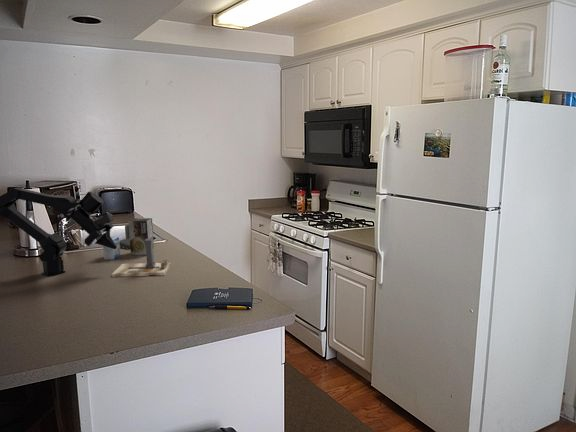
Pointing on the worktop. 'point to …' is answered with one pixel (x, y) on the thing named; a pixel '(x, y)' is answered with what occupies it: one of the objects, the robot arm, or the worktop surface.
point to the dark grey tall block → (149, 253)
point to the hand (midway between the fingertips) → (115, 248)
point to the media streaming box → (125, 243)
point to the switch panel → (141, 269)
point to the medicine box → (112, 250)
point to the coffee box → (140, 234)
